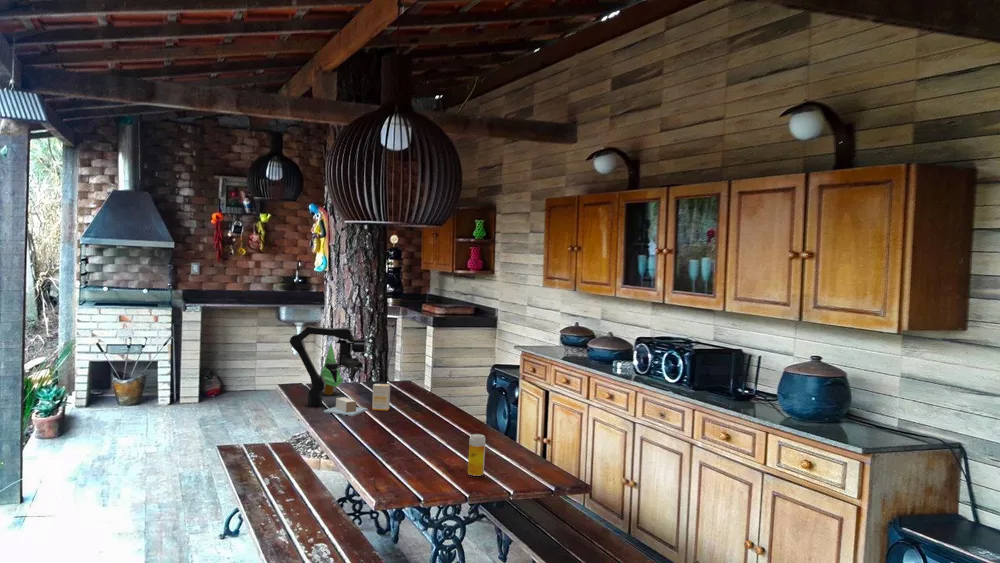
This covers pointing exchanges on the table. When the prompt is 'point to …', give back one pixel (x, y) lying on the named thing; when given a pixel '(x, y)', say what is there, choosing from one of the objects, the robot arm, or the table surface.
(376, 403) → the supplement box
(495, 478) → the table surface
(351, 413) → the slate mat
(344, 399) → the tan block
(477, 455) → the beer glass
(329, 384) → the decorative tree
